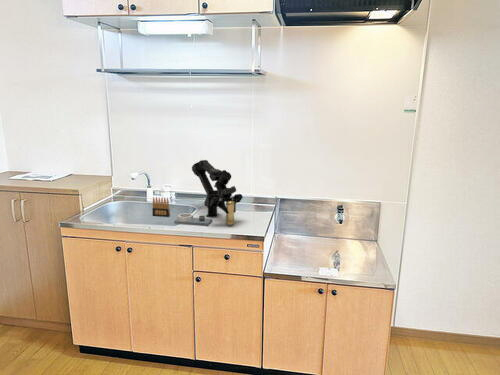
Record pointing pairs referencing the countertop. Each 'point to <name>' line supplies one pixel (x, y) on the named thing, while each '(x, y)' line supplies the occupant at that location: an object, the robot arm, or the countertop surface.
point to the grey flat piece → (192, 220)
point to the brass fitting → (230, 212)
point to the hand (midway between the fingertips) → (231, 212)
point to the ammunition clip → (161, 208)
